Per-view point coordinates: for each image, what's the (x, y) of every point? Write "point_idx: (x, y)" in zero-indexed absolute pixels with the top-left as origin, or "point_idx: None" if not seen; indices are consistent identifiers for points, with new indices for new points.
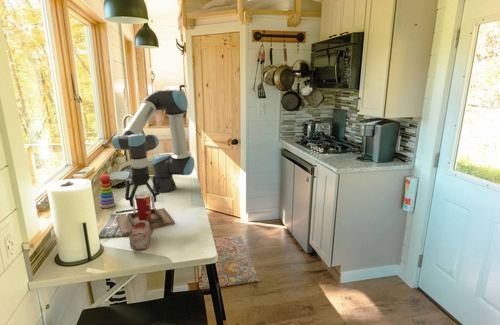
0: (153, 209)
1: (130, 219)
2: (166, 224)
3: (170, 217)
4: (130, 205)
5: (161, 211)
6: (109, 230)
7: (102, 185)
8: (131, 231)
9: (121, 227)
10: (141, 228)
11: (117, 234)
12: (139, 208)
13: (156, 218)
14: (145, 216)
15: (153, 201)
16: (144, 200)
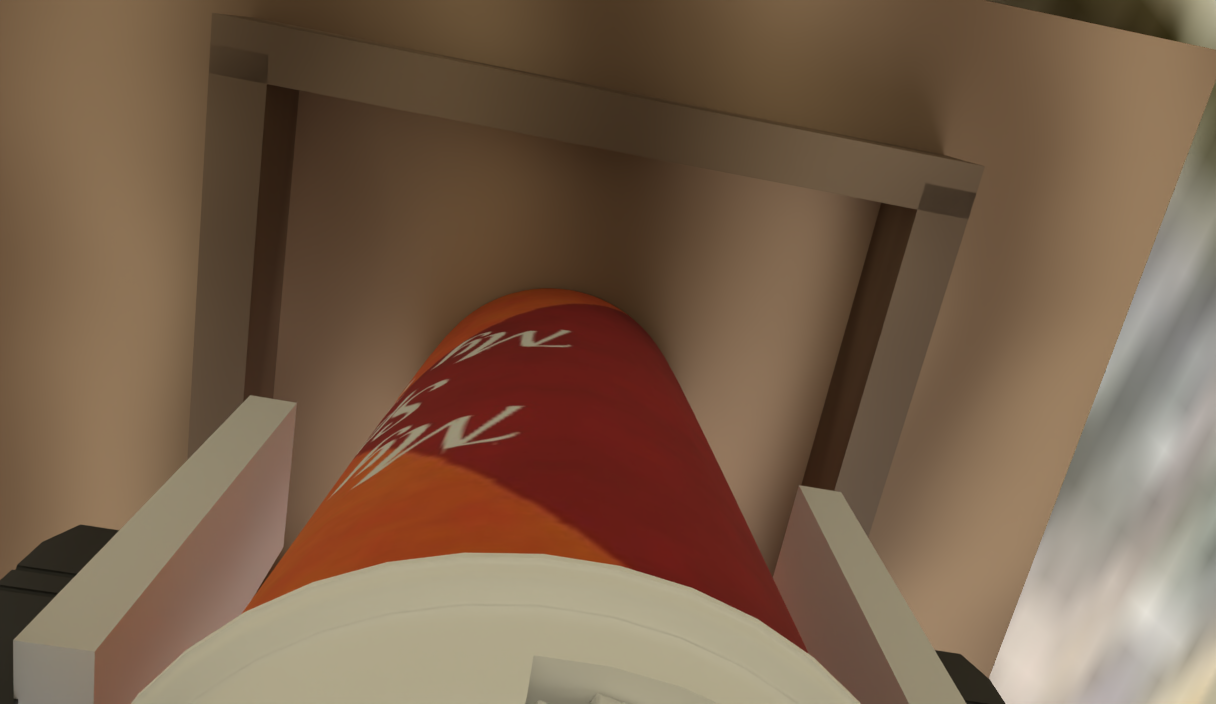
0: (295, 404)
1: (888, 457)
2: None
3: (5, 101)
4: (995, 695)
5: None
6: (1206, 479)
7: None
8: (1037, 15)
9: (1094, 346)
10: None
11: (1203, 209)
12: (726, 487)
13: (370, 67)
14: (582, 316)
15: (160, 524)
16: (569, 514)
